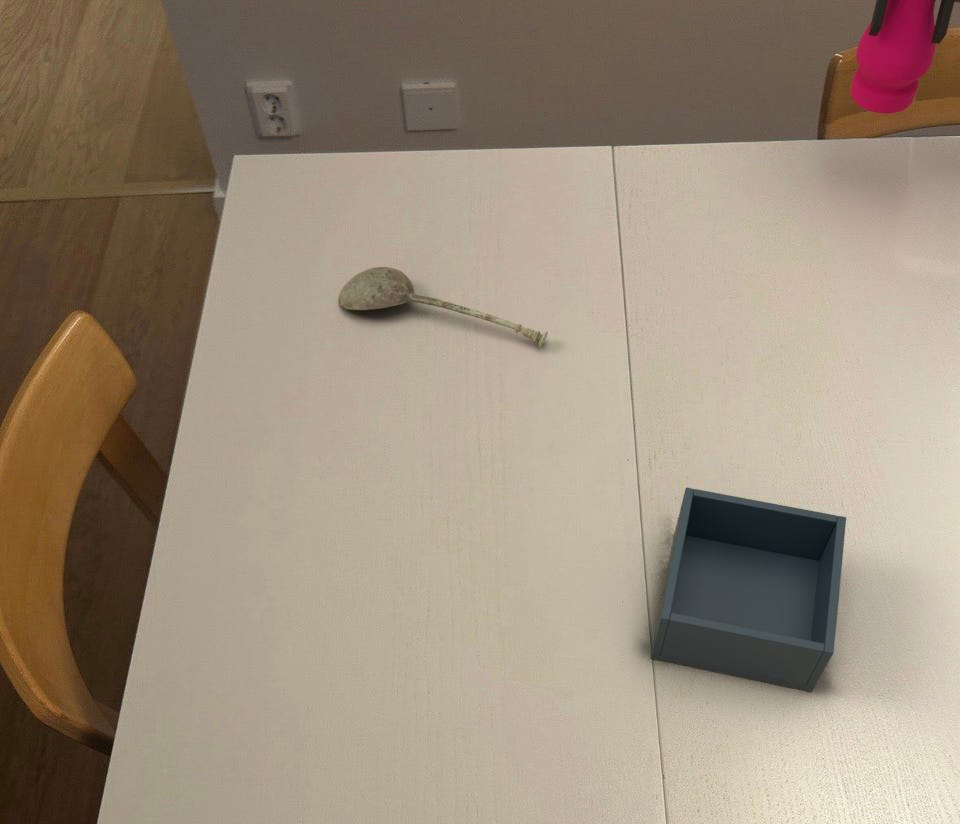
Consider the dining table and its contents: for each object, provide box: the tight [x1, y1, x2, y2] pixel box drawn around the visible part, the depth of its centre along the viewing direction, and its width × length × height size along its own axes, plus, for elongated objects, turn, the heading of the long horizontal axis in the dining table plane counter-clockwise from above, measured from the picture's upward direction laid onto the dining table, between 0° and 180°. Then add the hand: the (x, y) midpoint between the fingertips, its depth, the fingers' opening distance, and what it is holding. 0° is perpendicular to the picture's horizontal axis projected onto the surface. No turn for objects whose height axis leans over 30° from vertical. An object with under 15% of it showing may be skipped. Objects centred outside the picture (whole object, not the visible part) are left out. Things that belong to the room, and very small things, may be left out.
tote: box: [649, 487, 847, 693], centre depth 85 cm, size 13×13×6 cm
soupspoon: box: [338, 266, 549, 349], centre depth 105 cm, size 22×3×7 cm
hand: (906, 34), depth 98 cm, fingers closed on pepper mill, 5 cm apart
